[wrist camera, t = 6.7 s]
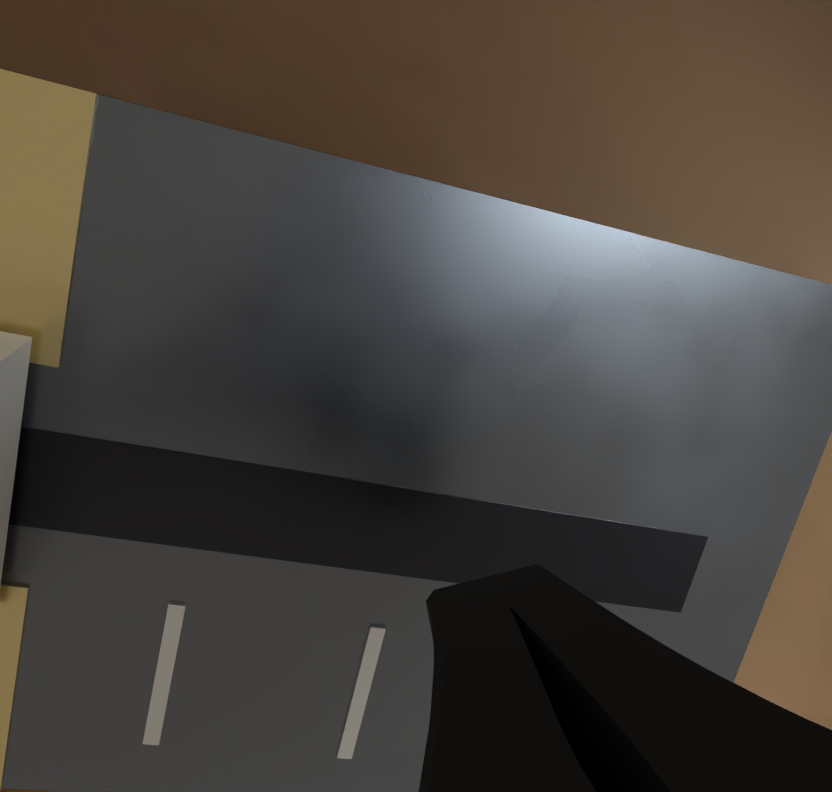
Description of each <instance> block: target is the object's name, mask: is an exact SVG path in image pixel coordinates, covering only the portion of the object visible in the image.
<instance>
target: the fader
mask: <svg viewBox="0 0 832 792" xmlns="http://www.w3.org/2000/svg"><path fill="white" fill-rule="evenodd" d="M31 344H32V337H29V336H24V335H19V334H13V333H8V332H3V331H0V586H1V578H2V570H3V563H4V555H5V547H6V539H7V531H8V523H9V516H10V508H11V500H12V492H13V484H14V477H15V469H16V461H17V453H18V445H19V437H20V430H21V422H22V414H23V406H24V398H25V390H26V383H27V375H28V367H29V359H30V351H31Z"/></svg>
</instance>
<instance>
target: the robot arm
mask: <svg viewBox="0 0 832 792" xmlns="http://www.w3.org/2000/svg"><path fill="white" fill-rule="evenodd" d="M426 606H427V611H428V616H429V622H430V627H431V632H432V637H433V643H434V670H433V684H432V698H431V712H430V721H429V730H428V736H427V742H426V748H425V755H424V761H423V767H422V773H421V780H420V786H419V792H832V730H830V729H828V728H825V727H823V726H821V725H819V724H816V723H814V722H812V721H809V720H807V719H805V718H803V717H801V716H799V715H797V714H794V713H792V712H790V711H788V710H786V709H784V708H782V707H780V706H778V705H776V704H774V703H771V702H769V701H767V700H765V699H764V698H762V697H760V696H758V695H756V694H754V693H752V692H750V691H748V690H746V689H744V688H742V687H741V686H739V685H737V684H735V683H733V682H731V681H729V680H727V679H725V678H723V677H721V676H719V675H717V674H716V673H714V672H712V671H710V670H708V669H706V668H704V667H703V666H701V665H699V664H697V663H695V662H694V661H692V660H690V659H688V658H687V657H685V656H683V655H681V654H679V653H678V652H676V651H674V650H673V649H671V648H669V647H667V646H666V645H664V644H662V643H661V642H659V641H657V640H656V639H654V638H652V637H651V636H649V635H647V634H646V633H644V632H642V631H641V630H639V629H637V628H636V627H634V626H632V625H631V624H629V623H628V622H626V621H625V620H623V619H621V618H620V617H618V616H617V615H615V614H614V613H612V612H610V611H609V610H607V609H606V608H604V607H603V606H601V605H600V604H598V603H597V602H595V601H593V600H592V599H590V598H589V597H587V596H586V595H584V594H583V593H581V592H580V591H578V590H577V589H575V588H574V587H572V586H571V585H569V584H568V583H566V582H565V581H563V580H561V579H560V578H558V577H557V576H555V575H554V574H552V573H551V572H549V571H548V570H546V569H545V568H543V567H542V566H540V565H538V564H536V565H532V566H528V567H524V568H520V569H516V570H512V571H508V572H504V573H500V574H496V575H491V576H487V577H483V578H479V579H475V580H471V581H467V582H463V583H459V584H455V585H451V586H447V587H443V588H439V589H435V590H433V592H432V593H431V594H430V596H429V597H428V599H427V600H426Z"/></svg>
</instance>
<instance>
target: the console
mask: <svg viewBox="0 0 832 792" xmlns="http://www.w3.org/2000/svg"><path fill="white" fill-rule="evenodd" d="M0 331H3V332H8V333H13V334H19V335H24V336H29V337H32V344H31V351H30V359H29V367H28V375H27V383H26V390H25V398H24V406H23V414H22V422H21V430H20V437H19V445H18V453H17V461H16V469H15V477H14V484H13V492H12V500H11V508H10V516H9V523H8V531H7V539H6V547H5V555H4V563H3V570H2V578H1V586H0V790H1V788H7V789H25V790H42V791H60V792H419V786H420V780H421V773H422V767H423V761H424V755H425V748H426V742H427V736H428V730H429V721H430V712H431V698H432V684H433V670H434V643H433V637H432V632H431V627H430V622H429V616H428V611H427V606H426V600H427V599H428V597H429V596H430V594H431V593H432V592H433V590H435V589H439V588H443V587H447V586H451V585H455V584H459V583H463V582H467V581H471V580H475V579H479V578H483V577H487V576H491V575H496V574H500V573H504V572H508V571H512V570H516V569H520V568H524V567H528V566H532V565H536V564H538V565H540V566H542V567H543V568H545V569H546V570H548V571H549V572H551V573H552V574H554V575H555V576H557V577H558V578H560V579H561V580H563V581H565V582H566V583H568V584H569V585H571V586H572V587H574V588H575V589H577V590H578V591H580V592H581V593H583V594H584V595H586V596H587V597H589V598H590V599H592V600H593V601H595V602H597V603H598V604H600V605H601V606H603V607H604V608H606V609H607V610H609V611H610V612H612V613H614V614H615V615H617V616H618V617H620V618H621V619H623V620H625V621H626V622H628V623H629V624H631V625H632V626H634V627H636V628H637V629H639V630H641V631H642V632H644V633H646V634H647V635H649V636H651V637H652V638H654V639H656V640H657V641H659V642H661V643H662V644H664V645H666V646H667V647H669V648H671V649H673V650H674V651H676V652H678V653H679V654H681V655H683V656H685V657H687V658H688V659H690V660H692V661H694V662H695V663H697V664H699V665H701V666H703V667H704V668H706V669H708V670H710V671H712V672H714V673H716V674H717V675H719V676H721V677H723V678H725V679H727V680H729V681H731V682H734V679H735V677H736V674H737V672H738V669H739V667H740V664H741V661H742V659H743V656H744V654H745V651H746V649H747V646H748V644H749V641H750V638H751V636H752V633H753V631H754V628H755V626H756V623H757V620H758V618H759V615H760V613H761V610H762V608H763V605H764V603H765V600H766V597H767V595H768V592H769V590H770V587H771V585H772V582H773V579H774V577H775V574H776V572H777V569H778V567H779V564H780V562H781V559H782V556H783V554H784V551H785V549H786V546H787V544H788V541H789V538H790V536H791V533H792V531H793V528H794V526H795V523H796V521H797V518H798V515H799V513H800V510H801V508H802V505H803V503H804V500H805V497H806V495H807V492H808V490H809V487H810V485H811V482H812V480H813V477H814V474H815V472H816V469H817V467H818V464H819V462H820V459H821V456H822V454H823V451H824V449H825V446H826V444H827V441H828V439H829V436H830V433H831V431H832V285H830V284H827V283H823V282H819V281H815V280H811V279H807V278H804V277H800V276H796V275H792V274H788V273H784V272H780V271H777V270H773V269H769V268H765V267H761V266H757V265H753V264H750V263H746V262H742V261H738V260H734V259H730V258H727V257H723V256H719V255H715V254H711V253H707V252H703V251H700V250H696V249H692V248H688V247H684V246H680V245H676V244H673V243H669V242H665V241H661V240H657V239H653V238H650V237H646V236H642V235H638V234H634V233H630V232H626V231H623V230H619V229H615V228H611V227H607V226H603V225H600V224H596V223H592V222H588V221H584V220H580V219H576V218H573V217H569V216H565V215H561V214H557V213H553V212H549V211H546V210H542V209H538V208H534V207H530V206H526V205H523V204H519V203H515V202H511V201H507V200H503V199H499V198H496V197H492V196H488V195H484V194H480V193H476V192H472V191H469V190H465V189H461V188H457V187H453V186H449V185H446V184H442V183H438V182H434V181H430V180H426V179H422V178H419V177H415V176H411V175H407V174H403V173H399V172H395V171H392V170H388V169H384V168H380V167H376V166H372V165H369V164H365V163H361V162H357V161H353V160H349V159H345V158H342V157H338V156H334V155H330V154H326V153H322V152H319V151H315V150H311V149H307V148H303V147H299V146H295V145H292V144H288V143H284V142H280V141H276V140H272V139H268V138H265V137H261V136H257V135H253V134H249V133H245V132H242V131H238V130H234V129H230V128H226V127H222V126H218V125H215V124H211V123H207V122H203V121H199V120H195V119H191V118H188V117H184V116H180V115H176V114H172V113H168V112H165V111H161V110H157V109H153V108H149V107H145V106H141V105H138V104H134V103H130V102H126V101H122V100H118V99H115V98H111V97H107V96H103V95H99V94H96V93H92V92H88V91H84V90H80V89H77V88H73V87H69V86H65V85H61V84H57V83H53V82H50V81H46V80H42V79H38V78H34V77H30V76H27V75H23V74H19V73H15V72H11V71H7V70H3V69H0Z"/></svg>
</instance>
